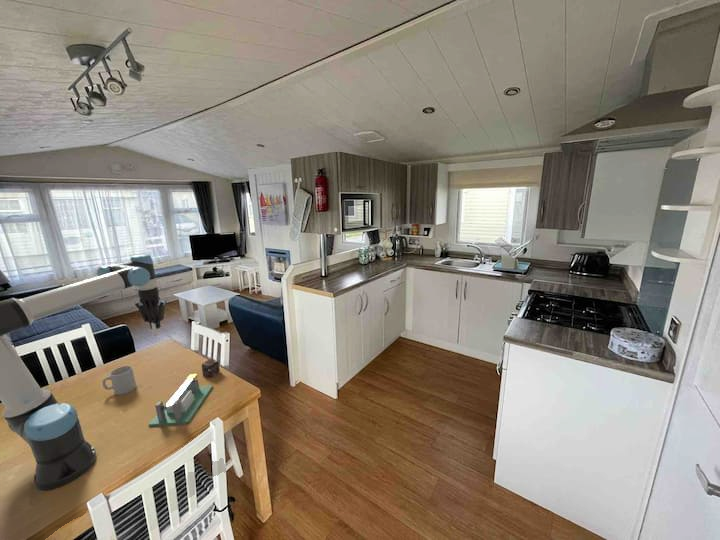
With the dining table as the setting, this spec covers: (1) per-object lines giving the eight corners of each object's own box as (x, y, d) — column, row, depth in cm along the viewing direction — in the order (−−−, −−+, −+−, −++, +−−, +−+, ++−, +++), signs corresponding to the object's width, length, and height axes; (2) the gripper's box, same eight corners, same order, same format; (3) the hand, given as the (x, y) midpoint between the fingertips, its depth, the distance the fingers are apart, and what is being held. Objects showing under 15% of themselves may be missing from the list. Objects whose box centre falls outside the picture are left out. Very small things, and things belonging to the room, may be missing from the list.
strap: (173, 410, 117) (173, 407, 117) (161, 410, 117) (160, 407, 116) (199, 376, 138) (198, 373, 138) (188, 376, 138) (188, 374, 138)
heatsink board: (188, 423, 118) (184, 404, 115) (148, 426, 117) (144, 407, 114) (212, 387, 141) (210, 370, 139) (180, 389, 140) (177, 372, 138)
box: (202, 376, 150) (200, 364, 148) (211, 370, 156) (209, 358, 154) (211, 378, 148) (209, 366, 147) (220, 371, 154) (218, 360, 152)
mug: (137, 382, 146) (133, 363, 143) (135, 391, 139) (130, 371, 136) (107, 390, 139) (102, 371, 137) (103, 400, 132) (98, 380, 130)
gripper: (167, 285, 132) (175, 330, 137) (138, 285, 131) (148, 331, 137) (156, 290, 124) (166, 337, 130) (126, 290, 124) (137, 338, 129)
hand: (157, 334), depth 133 cm, fingers closed
